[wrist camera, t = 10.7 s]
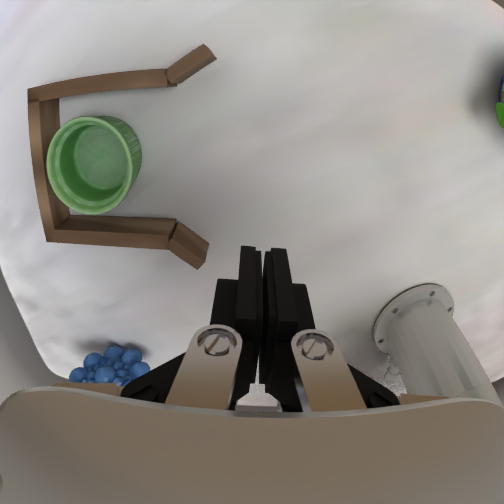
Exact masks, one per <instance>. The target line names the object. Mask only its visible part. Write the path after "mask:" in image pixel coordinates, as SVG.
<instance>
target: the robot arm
mask: <svg viewBox="0 0 504 504" xmlns="http://www.w3.org/2000/svg"><path fill="white" fill-rule="evenodd" d="M453 312H454V301H453V298H452V296H451V295H450V293H449V292H448V291H447V290H446V289H445V288H443V287H442V286H439V285H432V284H428V285H421V286H418V287H415V288H412V289H410V290H408V291H406V292H404V293H403V294H401V295H399V296H398V297H397V298H395V299H394V300H393V301H392V302H390V303H389V304H388V305H387V306H386V308H385V309H384V310H383V311H382V313H381V314H380V315H379V317H378V319H377V321H376V323H375V326H374V331H373V336H374V341H375V343H376V345H377V347H378V348H379V350H380V351H382V352H383V353H385V354H388V355H390V357H391V360H390V367H389V368H388V369H387V371H386V372H385V374H384V379H385V380H386V381H387V382H393V381H394V380H395V379H396V377H397V376H398V374H399V372H400V375H401V377H402V380H403V383H404V385H405V388H406V391H407V393H408V394H402V393H401V394H400V396H396V395H395V394H394V393H393V392H391V391H390V390H389V389H387V388H386V387H384V386H382V385H381V384H379V383H378V382H376V381H374V380H373V379H371V378H369V377H368V376H366V375H365V374H363V373H362V372H360V371H358V370H357V369H355V368H354V367H352V366H350V365H349V364H347V363H346V360H345V358H344V356H343V354H342V352H341V349H340V347H339V345H338V343H337V342H336V340H335V339H334V338H333V337H332V336H331V335H329V334H328V333H326V332H323V331H320V330H316V328H315V324H314V319H313V314H312V310H311V305H310V301H309V296H308V292H307V288H306V285H305V284H296V283H292V279H291V273H290V268H289V262H288V256H287V251H286V249H281V248H271V252H269V251H265V258H264V267H263V276H262V263H261V251H256V247H252V246H241V252H240V265H239V279H238V280H232V279H218V280H217V285H216V291H215V297H214V303H213V309H212V315H211V321H210V325H208V326H205V327H202V328H201V329H199V330H198V331H197V332H196V333H195V334H194V336H193V337H192V340H191V342H190V344H189V347H188V349H187V351H186V352H185V353H183V354H181V355H179V356H177V357H176V358H174V359H172V360H170V361H168V362H166V363H164V364H162V365H161V366H159V367H157V368H155V369H153V370H151V371H149V372H147V373H145V374H143V375H142V376H140V377H138V378H136V379H134V380H132V381H130V382H129V383H128V384H126V385H125V386H118V385H117V383H75V382H62V383H56V384H54V385H52V386H51V387H36V388H28V389H24V390H20V391H17V392H15V393H13V394H11V395H10V396H9V397H8V398H6V400H5V401H4V402H3V403H2V404H1V405H0V504H504V407H503V405H502V403H501V401H500V400H499V397H498V395H497V393H496V391H495V390H494V388H493V386H492V384H491V382H490V380H489V378H488V376H487V374H486V373H485V371H484V369H483V367H482V365H481V364H480V362H479V360H478V358H477V357H476V355H475V353H474V352H473V350H472V348H471V347H470V345H469V343H468V342H467V340H466V338H465V337H464V335H463V333H462V332H461V330H460V329H459V327H458V325H457V324H456V322H455V321H454V319H453V318H452V316H453ZM258 356H259V384H265V393H269V394H271V395H272V396H273V397H274V398H276V399H277V410H278V412H249V411H236V408H237V402H238V400H239V399H240V398H242V397H243V396H244V395H246V394H247V393H248V392H249V388H250V383H255V377H256V370H257V363H258Z"/></svg>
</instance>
